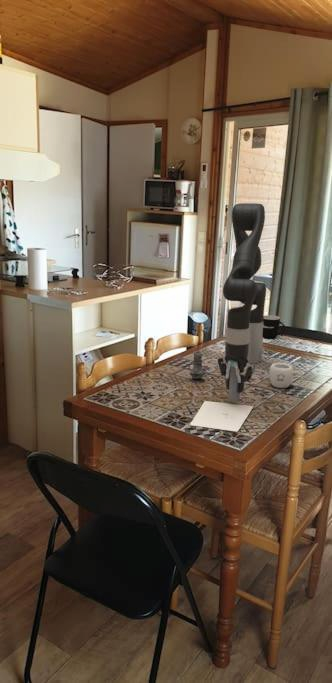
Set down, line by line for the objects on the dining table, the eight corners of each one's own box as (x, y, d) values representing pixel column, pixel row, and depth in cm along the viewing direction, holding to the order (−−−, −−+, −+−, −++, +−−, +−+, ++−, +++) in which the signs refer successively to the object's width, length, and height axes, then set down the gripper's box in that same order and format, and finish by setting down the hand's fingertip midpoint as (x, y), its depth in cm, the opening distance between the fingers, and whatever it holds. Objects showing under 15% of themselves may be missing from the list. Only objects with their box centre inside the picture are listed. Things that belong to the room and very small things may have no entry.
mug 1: (257, 338, 262) (258, 317, 259) (263, 334, 270) (264, 314, 267) (281, 341, 257) (282, 321, 254) (286, 337, 264) (288, 317, 262)
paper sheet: (234, 437, 156) (234, 434, 156) (146, 421, 169) (146, 417, 168) (258, 409, 176) (258, 406, 176) (178, 396, 189) (178, 393, 189)
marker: (232, 396, 181) (234, 357, 178) (241, 399, 179) (244, 360, 175) (225, 399, 179) (227, 360, 175) (235, 402, 176) (237, 362, 172)
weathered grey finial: (203, 383, 199) (204, 352, 195) (187, 382, 200) (188, 351, 196) (205, 378, 204) (206, 348, 201) (190, 377, 205) (191, 346, 202)
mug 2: (266, 388, 195) (268, 367, 193) (270, 380, 203) (272, 360, 201) (300, 392, 192) (302, 371, 190) (303, 385, 199) (304, 364, 197)
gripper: (262, 342, 171) (258, 393, 176) (226, 334, 181) (224, 382, 185) (249, 347, 166) (245, 399, 171) (212, 338, 175) (210, 388, 180)
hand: (234, 390), depth 178 cm, fingers closed on marker, 3 cm apart
